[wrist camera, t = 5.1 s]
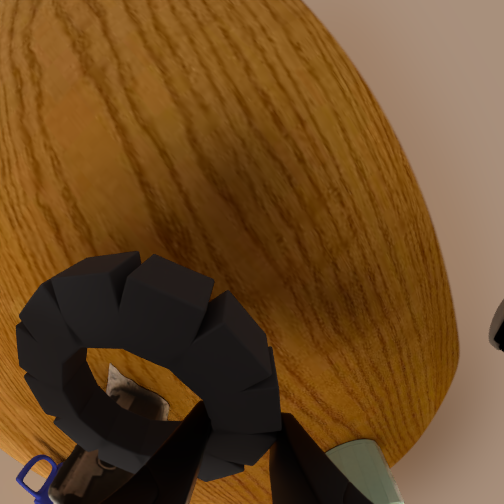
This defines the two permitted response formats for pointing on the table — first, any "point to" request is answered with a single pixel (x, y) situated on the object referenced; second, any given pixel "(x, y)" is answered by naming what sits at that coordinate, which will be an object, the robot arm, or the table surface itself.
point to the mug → (42, 497)
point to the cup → (367, 470)
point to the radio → (87, 463)
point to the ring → (150, 359)
